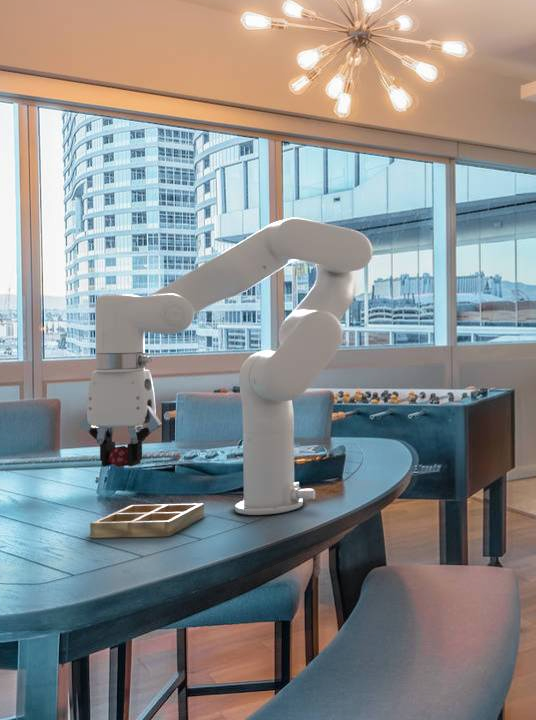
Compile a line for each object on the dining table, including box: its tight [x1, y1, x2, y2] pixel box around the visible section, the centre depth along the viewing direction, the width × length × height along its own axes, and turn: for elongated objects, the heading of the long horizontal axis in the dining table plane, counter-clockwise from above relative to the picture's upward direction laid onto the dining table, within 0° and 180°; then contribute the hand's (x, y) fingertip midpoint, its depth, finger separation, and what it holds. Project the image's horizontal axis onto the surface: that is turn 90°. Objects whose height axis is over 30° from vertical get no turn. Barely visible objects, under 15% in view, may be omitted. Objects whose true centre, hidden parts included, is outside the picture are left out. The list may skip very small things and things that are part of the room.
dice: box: [108, 445, 128, 468], centre depth 144 cm, size 4×4×4 cm
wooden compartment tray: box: [89, 503, 205, 539], centre depth 148 cm, size 14×14×3 cm
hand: (121, 463), depth 144 cm, fingers closed on dice, 3 cm apart
